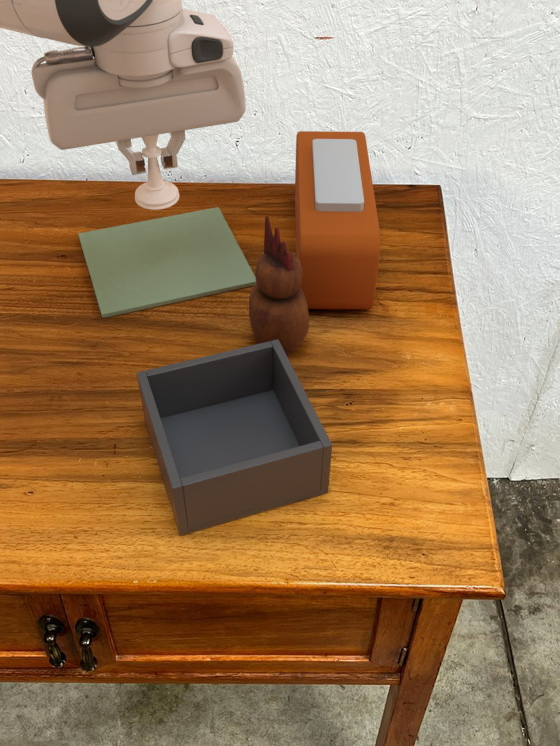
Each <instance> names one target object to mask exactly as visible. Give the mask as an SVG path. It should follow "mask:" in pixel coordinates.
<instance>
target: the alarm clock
mask: <svg viewBox="0 0 560 746" xmlns="http://www.w3.org/2000/svg"><path fill="white" fill-rule="evenodd" d="M295 138H296V139H295V140H296V141H295V142H296V143H295V171H294V172H295V174H294V180H295V181H294V219H295V220H294V221H295V223H294V224H295V256H296V257H297V258H298V259H299V261H300V264H301V268H302V283H301V287H300V288H301V290H302V291H303V293H304V296H305V299H306V302H307V305H308V310H371V309H372V308H373V307H374V303H375V299H376V291H377V284H378V283H377V282H378V275H379V274H378V273H379V267H380V258H381V247H382V246H381V245H382V244H381V230H380V223H379V217H378V210H377V204H376V197H375V191H374V183H373V177H372V171H371V163H370V158H369V151H368V143H367V137H366V133H365V132H363V131H321V130H318V131H316V130H313V131H312V130H311V131H310V130H306V131H305V130H300V131H297V133H296V137H295Z"/></svg>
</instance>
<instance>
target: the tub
mask: <svg viewBox="0 0 560 746" xmlns="http://www.w3.org/2000/svg"><path fill="white" fill-rule="evenodd" d="M136 378H137V379H136V380H137V384H138V390H139V395H140V401H141V407H142V412H143V417H144V423H145V426H146V430H147V433H148V436H149V439H150V442H151V446H152V449H153V452H154V453H153V454H154V456H155V459H156V462H157V467H158V470H159V473H160V476H161V479H162V482H163V486H164V488H165V492H166V496H167V498H168V499H167V500H168V502H169V505H170V508H171V512H172V516H173V518H174V522H175V526H176V528H177V531H178V535H179V536H180V537H182V536H184V535H188V534H191V533H195V532H198V531H201V530H205V529H209V528H213V527H215V526H220V525H223V524H226V523H229V522H233V521H237V520H239V519H243V518H247V517H251V516H253V515H257V514H260V513H264V512H268V511H272V510H274V509H278V508H281V507H285V506H288V505H292V504H295V503H299V502H302V501H306V500H309V499H312V498H316V497H319V496H322V495H326V494H329V486H330V474H331V464H332V463H331V462H332V452H333V443H332V442H331V440H330V438H329V436H328V434H327V432H326V429H325V428H324V426H323V424H322V422H321V420H320V418H319V415H318V414H317V412H316V409H315V408H314V406H313V404H312V402H311V400H310V399H309V396H308V394H307V393H306V390H305V389H304V387H303V385H302V383H301V381H300V379H299V377H298V375H297V373H296V371H295V369H294V367H293V365H292V363H291V361H290V359H289V357H288V354H287V355H286V353H285V351H284V349H283V347H282V345H281V344H280V342H279V340H278V339H277V340H273V341H271V342H270V341H269V342H265V343H260V344H257V343H256V344H253V345H249V346H248V345H247V346H243V347H239V348H236V349H231V350H227V351H223V352H218V353H214V354H209V355H205V356H201V357H197V358H192V359H188V360H184V361H180V362H175V363H172V364H167V365H162V366H159V367H155V368H149V369H146V370H142V371H136Z"/></svg>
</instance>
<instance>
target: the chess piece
mask: <svg viewBox="0 0 560 746" xmlns="http://www.w3.org/2000/svg"><path fill="white" fill-rule="evenodd" d="M159 136H160V134H158V135H152V136H146V137H140V138H141V139H142V141H143V143H144V147H143V148H142V150H141V153H142V156H143V158H146V159H147V181H146V182H144V183H142V184H140V185H139V186H138V187H137V188H136V190H135V192H134V201H135V203H136V205H137V206H139V207H141V208H143V209H147V210H152V211H158V210H164V209H168V208H170V207H173V206H174V205H176V204H177V203H178V201H179V200H180V192H179V189H178V187H177V186H176V184H174V183H172V182H170V181H167V180H164V179H163V176H162V172H161V169H160V165H159V159H158V157H161V154H162V150H161V148H162V147H159V146H157V143H158V139H159Z"/></svg>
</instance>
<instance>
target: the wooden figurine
mask: <svg viewBox="0 0 560 746" xmlns="http://www.w3.org/2000/svg"><path fill="white" fill-rule="evenodd" d="M263 233H264V234H263V235H264V238H263V254H262V255H261V256H260V257H259V258H258V259H257V263H256V266H255V273H254V275H255V277H256V285H255V286H252V287H251V291H250V293H249V301H248V317H249V321H250V323H249V324H250V327H251V331H252V333H253V337H254V340H255V342H256V344H260V343H265V342H269V341H270V342H271V341H273V340H277V339H278V340H279V342H280V344H281V345H282V347H283V349H284V351H285V353H286V355H287V356H288V355H290V354H292V353H294V352H296V351H297V350H298V349H299V347H300V346H301V345H302V343H303V342H304V341H305V339H306V337H307V334H308V332H309V329H310V315H309V314H310V313H309V309H308V305H307V302H306V299H305V296H304V293H303V291H302V290H301V288H300V287H301V283H302V268H301V264H300V261H299V259H298V258H297V257H296V254H295V253H293V252H291V251H290V250H287V242H286V241H285V240H284V241H281V235H280V229H279V227H275V228H274V234H273V230H272V225H271V221H270V218H269V216H268V215H265V216H264V232H263Z"/></svg>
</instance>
